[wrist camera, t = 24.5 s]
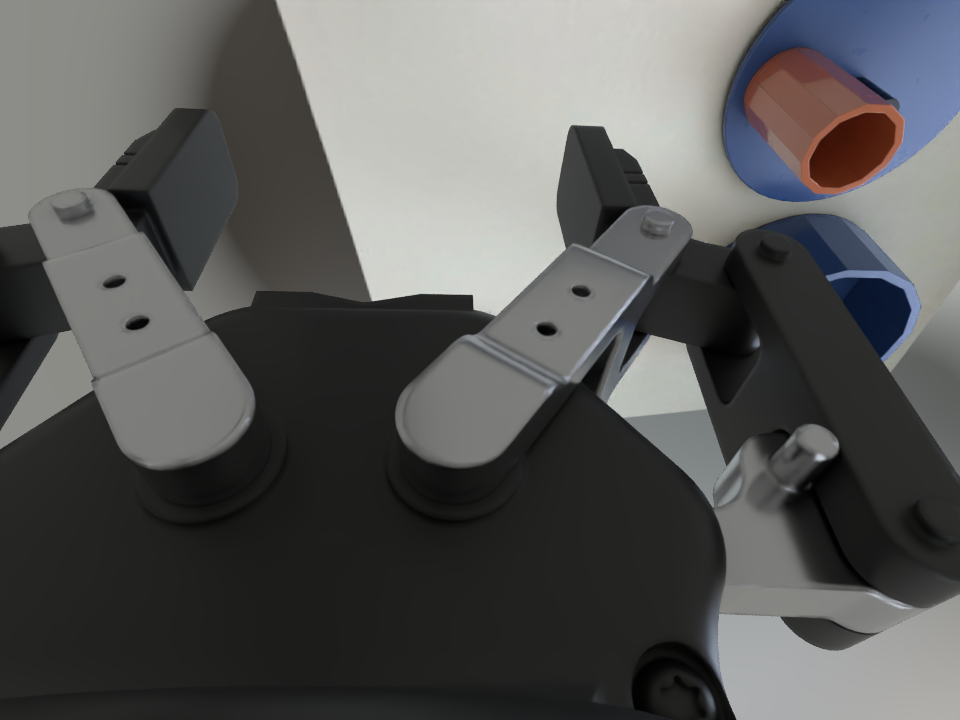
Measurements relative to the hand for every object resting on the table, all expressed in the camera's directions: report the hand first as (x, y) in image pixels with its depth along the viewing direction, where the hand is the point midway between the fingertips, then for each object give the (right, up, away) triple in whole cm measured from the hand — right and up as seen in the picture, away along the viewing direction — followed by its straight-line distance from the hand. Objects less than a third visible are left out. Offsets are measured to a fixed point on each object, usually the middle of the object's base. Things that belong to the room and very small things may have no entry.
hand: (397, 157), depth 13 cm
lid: (+30, +16, +28) cm, 44 cm away
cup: (+25, +15, +27) cm, 40 cm away
